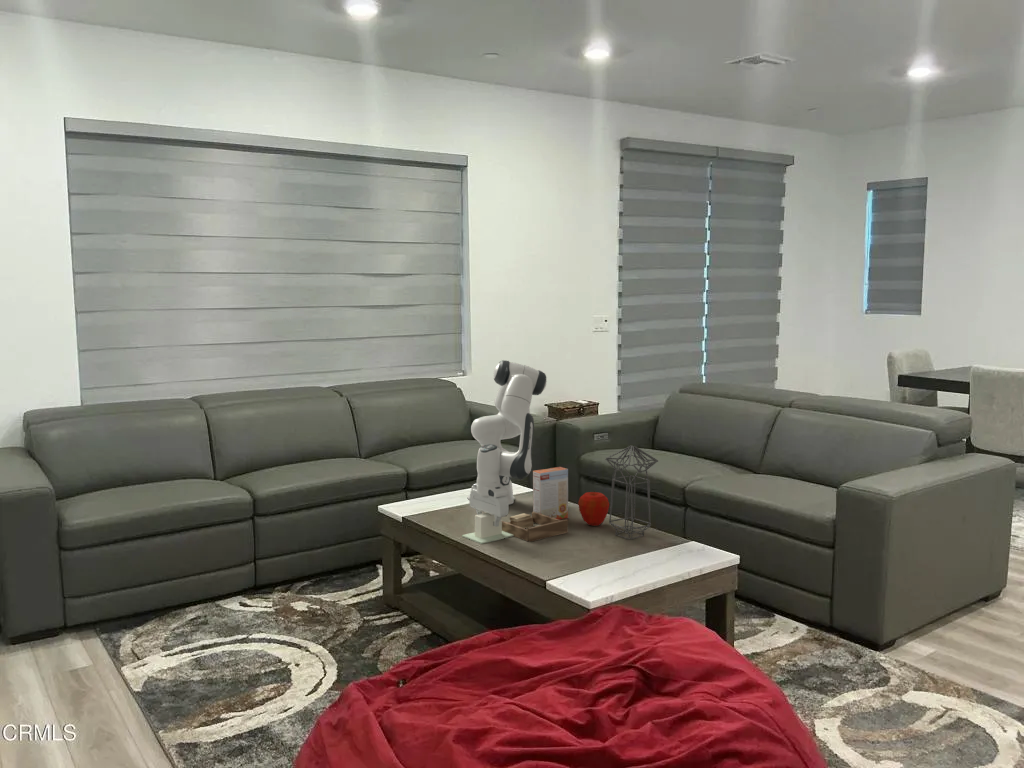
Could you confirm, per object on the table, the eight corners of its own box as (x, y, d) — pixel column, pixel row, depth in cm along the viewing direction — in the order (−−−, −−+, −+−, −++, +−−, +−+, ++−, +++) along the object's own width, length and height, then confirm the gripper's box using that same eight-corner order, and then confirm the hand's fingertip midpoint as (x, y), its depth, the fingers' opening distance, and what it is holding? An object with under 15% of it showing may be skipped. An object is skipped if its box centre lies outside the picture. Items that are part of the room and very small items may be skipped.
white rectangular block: (474, 535, 327) (474, 515, 326) (495, 531, 334) (495, 511, 333) (481, 538, 324) (481, 517, 323) (501, 533, 331) (501, 513, 330)
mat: (462, 536, 329) (462, 535, 329) (495, 529, 339) (495, 527, 339) (481, 544, 319) (481, 542, 319) (514, 536, 329) (514, 534, 329)
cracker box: (560, 515, 359) (560, 466, 357) (568, 518, 354) (569, 468, 352) (532, 520, 352) (532, 469, 349) (540, 523, 347) (540, 472, 344)
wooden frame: (496, 529, 338) (496, 517, 337) (533, 521, 350) (533, 509, 349) (529, 541, 322) (529, 528, 322) (567, 532, 334) (567, 519, 334)
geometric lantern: (601, 533, 333) (602, 444, 329) (631, 527, 342) (633, 440, 338) (629, 544, 320) (631, 451, 316) (659, 536, 329) (661, 446, 325)
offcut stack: (508, 529, 339) (508, 517, 338) (526, 524, 346) (526, 512, 345) (515, 531, 336) (515, 519, 335) (533, 526, 343) (533, 514, 342)
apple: (572, 524, 346) (572, 490, 344) (592, 519, 354) (592, 485, 352) (594, 531, 336) (595, 495, 335) (615, 525, 344) (615, 490, 343)
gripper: (465, 484, 333) (465, 518, 334) (498, 494, 317) (498, 530, 319) (478, 481, 337) (478, 516, 338) (511, 491, 321) (511, 527, 323)
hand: (488, 523), depth 328 cm, fingers open, 8 cm apart
